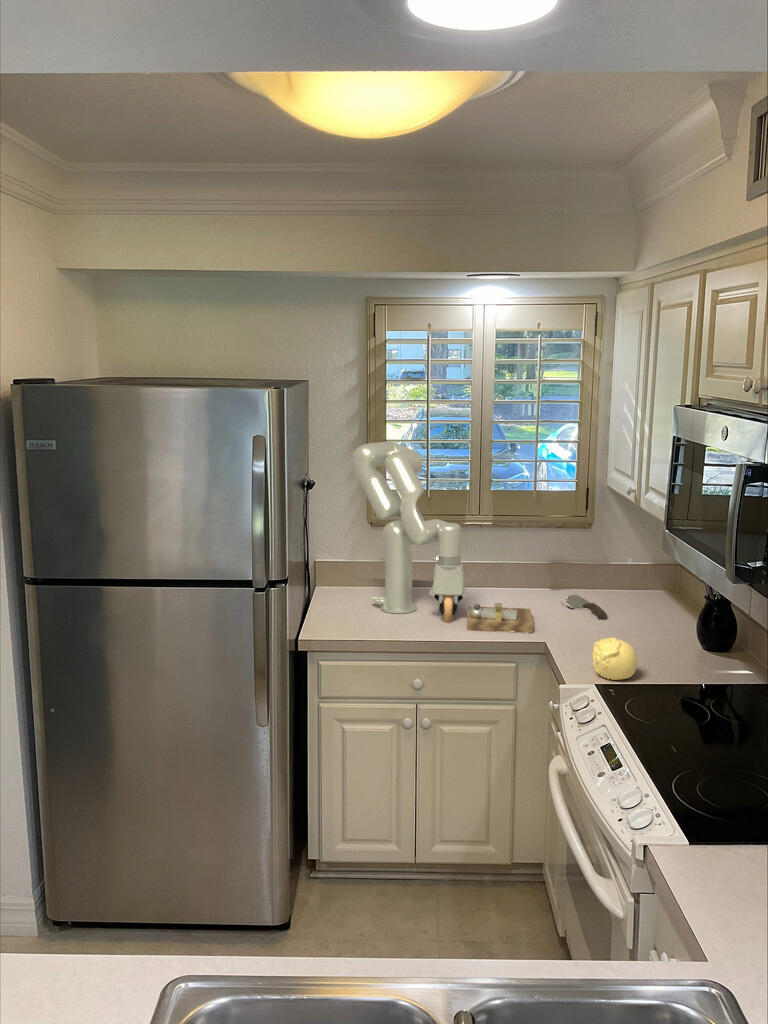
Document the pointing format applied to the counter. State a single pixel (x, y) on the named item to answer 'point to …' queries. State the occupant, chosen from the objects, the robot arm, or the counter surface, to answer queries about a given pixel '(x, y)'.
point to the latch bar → (492, 613)
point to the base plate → (489, 624)
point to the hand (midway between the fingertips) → (448, 613)
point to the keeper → (498, 612)
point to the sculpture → (614, 659)
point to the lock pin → (448, 609)
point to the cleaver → (586, 606)
